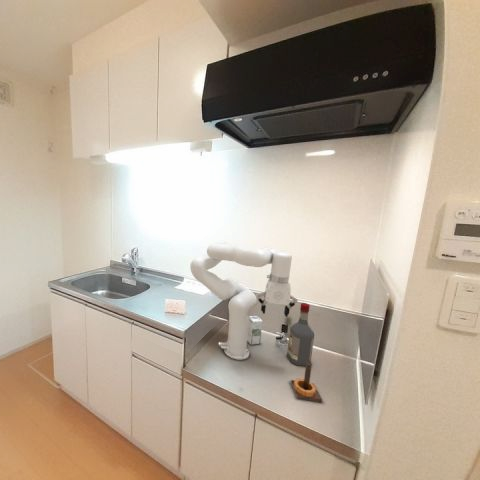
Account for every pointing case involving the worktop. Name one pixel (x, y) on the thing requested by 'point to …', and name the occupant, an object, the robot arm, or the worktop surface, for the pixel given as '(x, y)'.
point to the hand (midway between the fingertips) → (274, 313)
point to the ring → (300, 390)
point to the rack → (307, 386)
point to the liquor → (301, 339)
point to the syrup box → (254, 330)
